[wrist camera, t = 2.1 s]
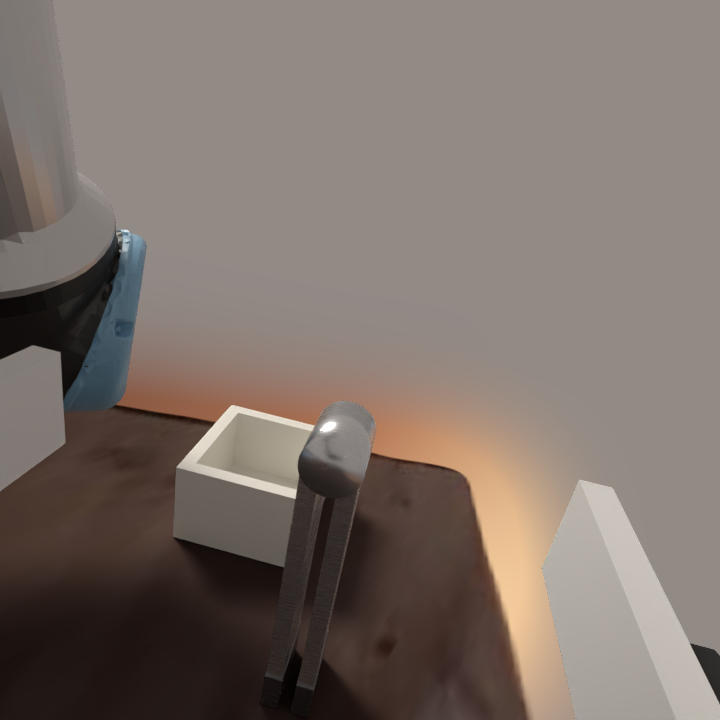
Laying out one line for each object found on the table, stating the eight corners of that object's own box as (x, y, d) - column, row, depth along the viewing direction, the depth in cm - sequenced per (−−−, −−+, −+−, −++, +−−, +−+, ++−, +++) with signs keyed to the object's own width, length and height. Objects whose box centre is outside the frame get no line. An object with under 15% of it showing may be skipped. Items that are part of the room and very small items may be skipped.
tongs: (258, 703, 29) (302, 432, 22) (284, 630, 34) (327, 385, 26) (308, 718, 29) (370, 450, 22) (328, 642, 33) (384, 399, 26)
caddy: (173, 536, 39) (176, 467, 36) (226, 464, 48) (231, 404, 46) (298, 571, 38) (310, 502, 36) (327, 491, 47) (339, 431, 45)
